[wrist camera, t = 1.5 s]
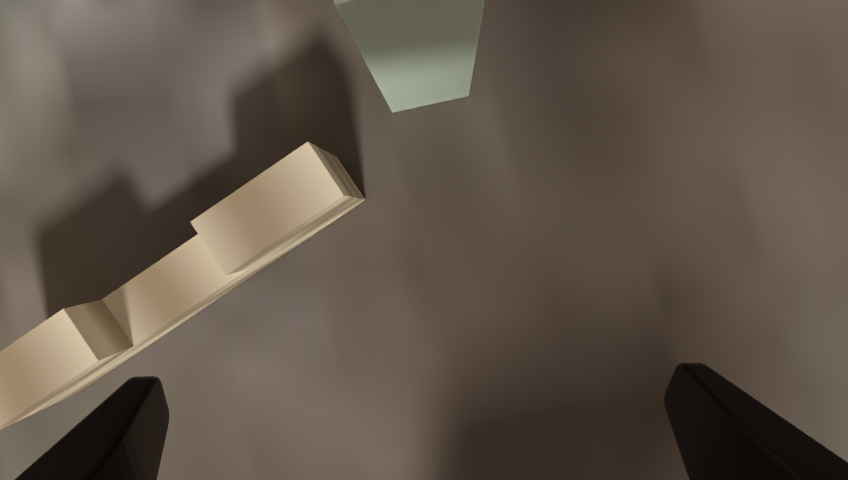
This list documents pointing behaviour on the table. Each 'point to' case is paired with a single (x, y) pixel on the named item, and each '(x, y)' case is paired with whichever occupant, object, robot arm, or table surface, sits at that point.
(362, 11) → the tall green pillar
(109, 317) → the birch rail
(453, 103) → the table surface
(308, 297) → the table surface
